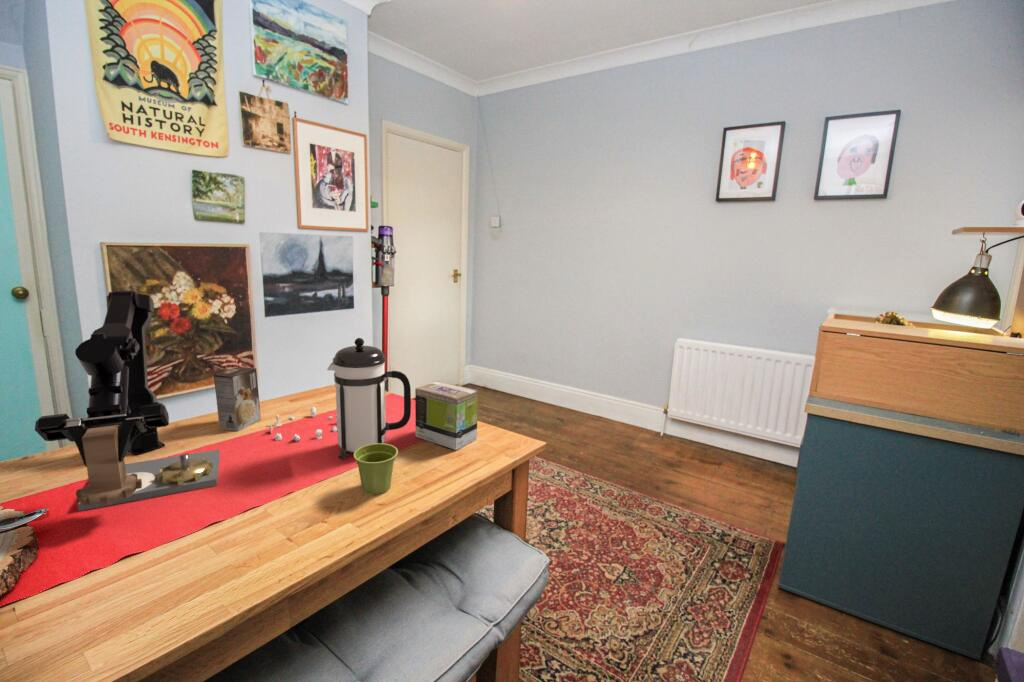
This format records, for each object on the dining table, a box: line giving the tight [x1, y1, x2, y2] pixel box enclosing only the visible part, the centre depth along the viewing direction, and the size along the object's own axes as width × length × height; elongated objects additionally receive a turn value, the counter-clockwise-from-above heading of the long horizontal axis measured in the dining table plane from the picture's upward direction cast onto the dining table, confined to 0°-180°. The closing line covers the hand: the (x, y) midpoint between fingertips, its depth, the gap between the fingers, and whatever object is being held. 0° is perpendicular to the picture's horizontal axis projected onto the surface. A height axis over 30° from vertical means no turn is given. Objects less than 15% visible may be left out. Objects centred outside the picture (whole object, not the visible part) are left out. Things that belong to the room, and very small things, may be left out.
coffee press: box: [326, 337, 412, 460], centre depth 120 cm, size 17×16×30 cm
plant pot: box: [353, 442, 399, 495], centre depth 103 cm, size 9×9×9 cm
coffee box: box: [213, 366, 262, 432], centre depth 133 cm, size 9×6×16 cm
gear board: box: [77, 449, 221, 512], centre depth 104 cm, size 16×23×2 cm
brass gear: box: [157, 453, 213, 486], centre depth 103 cm, size 10×10×4 cm
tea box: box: [414, 380, 479, 451], centre depth 130 cm, size 15×10×15 cm
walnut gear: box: [75, 425, 142, 506], centre depth 87 cm, size 9×9×12 cm
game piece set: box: [269, 406, 337, 442], centre depth 134 cm, size 19×20×4 cm
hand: (103, 463), depth 86 cm, fingers closed on walnut gear, 4 cm apart
